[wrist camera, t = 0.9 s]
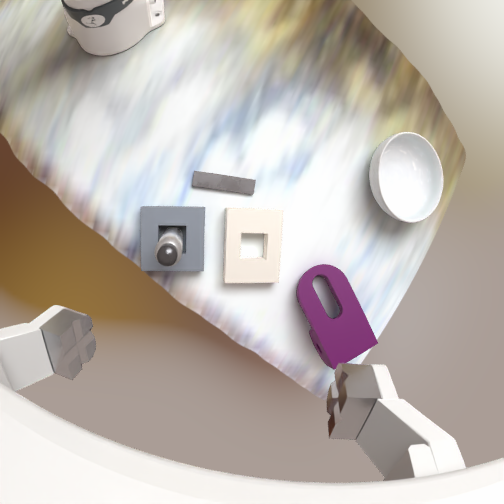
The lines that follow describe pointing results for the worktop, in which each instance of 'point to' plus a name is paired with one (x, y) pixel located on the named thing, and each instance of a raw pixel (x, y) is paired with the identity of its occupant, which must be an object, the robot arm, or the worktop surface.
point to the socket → (173, 216)
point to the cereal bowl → (406, 177)
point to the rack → (269, 264)
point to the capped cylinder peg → (169, 247)
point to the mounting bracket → (340, 328)
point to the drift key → (223, 182)
